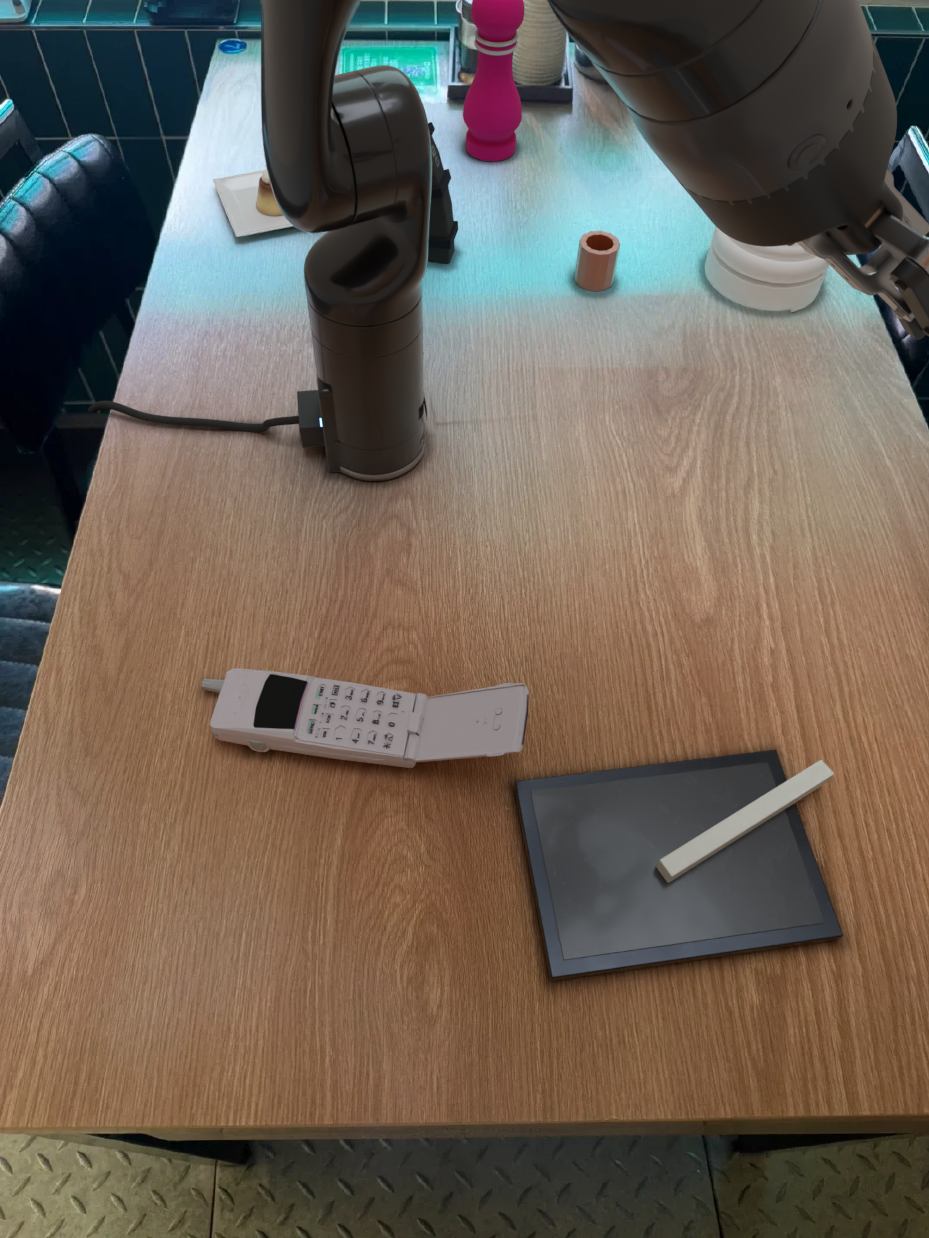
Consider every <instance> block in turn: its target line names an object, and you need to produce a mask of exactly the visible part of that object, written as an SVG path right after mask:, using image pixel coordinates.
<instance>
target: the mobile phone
mask: <svg viewBox="0 0 929 1238" xmlns="http://www.w3.org/2000/svg"><path fill="white" fill-rule="evenodd" d="M201 689H202V690H203V691H204V690H205V691H209V692H214V693H218V697H217V700H216V703H215V706H214V709H213V711H212V715H211V718H210V720H209V727H210V730H211V732H212V735H213V736H214V737H215V738H216V739H217V740H219V741H222V742H228V743H232V744H238V745H242V746H243V745H244V746H248V748H250V749H251V750H252V751H255V752H257V753H266V752H268V751H270V750H273V751H281V752H286V753H294V754H300V755H307V756H313V757H320V758H327V759H334V760H342V761H348V762H349V761H350V762H358V763H367V764H374V765H382V766H390V767H399V768H405V769H406V768H408V769H413V768H415V766H416V764H417V763H425V762H437V761H449V760H461V759H472V758H473V759H475V758H483V757H488V758H493V757H502V756H504V755H507V754H514V753H519V752H521V751H522V750H523V747H524V743H525V736H526V730H527V723H528V715H529V703H530V701H529V699H530V692H529V689H528V686H527V684H525V682H517V683H514V682H505V683H504V682H503V683H498V684H496V685H494V686H488V687H487V686H486V687H481V688H475V689H469V690H463V691H456V692H452V693H451V692H449V693H443V694H437V695H431V696H428V695H427V694H426V693H422V692H417V693H415V692H408V691H402V690H397V689H391V688H385V687H380V686H375V685H370V684H369V685H368V684H363V683H357V682H351V681H344V680H337V679H331V678H323V677H317V676H312V675H307V674H297V673H292V672H291V673H289V672H282V671H273V670H263V669H251V668H241V667H240V668H239V667H234V668H231V669H229V670H228V671H227V672H226V673H225V676H224V679H217V678H216V679H215V678H203V679H202V682H201Z"/></svg>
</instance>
